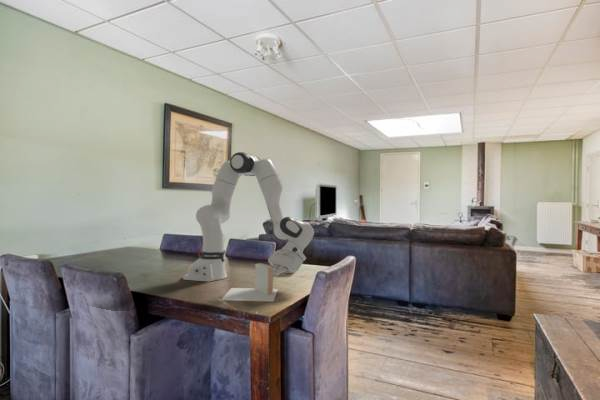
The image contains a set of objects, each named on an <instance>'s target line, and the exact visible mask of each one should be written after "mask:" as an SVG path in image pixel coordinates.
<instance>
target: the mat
mask: <svg viewBox="0 0 600 400" xmlns="http://www.w3.org/2000/svg"><path fill="white" fill-rule="evenodd" d="M278 290H279V288H273V294H270V295H266V294H263V293H261V292H259V291H257V290H255V287H254V288H252V287H251V288H250V287H231V288H230V289H228V291H227V292H226V293H225V295H224V296H222V298H221V299H220V302H226V301H237V302H238V301H241V302H243V301H244V302H245V301H246V302H247V301H248V302H274V301H275V298H276V295H277V293H278Z"/></svg>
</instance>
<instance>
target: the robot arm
mask: <svg viewBox="0 0 600 400" xmlns="http://www.w3.org/2000/svg"><path fill="white" fill-rule="evenodd" d="M241 176H246V177H247V176H248V177H256V180H257V182H258V185H259V188H260V191H261V193H262V195H263V197H264V200H265V203H266V207H267V211H268V214H269V217H270V220H271V222H272V223H271V224H272V231H271V232H272V236H273V238H274V239H275V240H276V241H278V242H281V243H284V242H286V243H285V245H284V246H283V247H282V248H283V249H282V248H280V249H277V250H276V251H274V252H273V253H272V254H271V256H269V258H268V260H267V261H268V263H269V265H270V266H272V267H273V276H276V277H279V275H280V274H281V273H283V272H284V270H289V271H292V272H294V273H296V272H297V271H298V270H299V269H300V268H301V266H302V265H303V263H304V262H305V261H306V259H307V257H306V256H305V254H304V253H303V252H304V250H305V248H306V247H307V246H309V244H310V242H311V241H312V239H313V238H314V235H315V229H314V228H313V226H312V225H311V223H309V222H307V221H300V220H298V219H297V220H296V219H295V218H294V217H291V216H286V217H284V215H283V212H282V210H281V204H280V198H281V196H282V192H283V191H282V190H283V184H282V180H281V177H280V174H279V171H278V170H277V168H276V166H275V164H274V163H273V162H272V160H271V159H269V158H261V159H260V158H259V157H258V156H255V155H253V154H250V153H246V152H241V151H240V152H239V151H238V152H234V154H232V156H231V157H230V160H226V161H224V162H223V163H222V165H221V166H220V168H219V171H218V172H217V174H216V177H215V180H214V183H213V185H212V188H211V196H212V197H211V202H210V204H206V205H203V206H201V207H199V208H198V210H197V211H196V213H195V219H196V221H197V223H199V226H200V228H201V229H200V231H201V233H202V250H201V251H200V252H199V253H198V256H199V257H198V259H196V260H195V261H194V262H192V263H191V264H190V265H189V266H188V269H187V273H186V274H184V275H183V277H182V279H183V281H184V280H186V281H187V280H188V281H196V282H197V281H199V282H212V281H218V280H223V279H226V278H227V277H228V274H227V270H226V262H225V261H226V250H225V235H224V234H223V231H222V226H221V225H222V224H225V223H226V222H227V221H228V220H229V219H230V217H231V210H230V209H231V203H232V198H233V196H234V193H235V189H236V187H237V184H238V180H239V179H240V177H241Z"/></svg>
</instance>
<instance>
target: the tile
mask: <svg viewBox="0 0 600 400" xmlns="http://www.w3.org/2000/svg"><path fill="white" fill-rule="evenodd" d="M254 267H255V269H254V270H255V271H254V272H255V273H254V282H255V283H254V288H255V290H257V291H259V292H261V293H263V294H266V295H270V294H273V289H274V285H273V281H274V277H273V276H274V274H273V271H274V266H272V265H267V264H265V263H263V262H262V263H260V262H259V263H255V266H254Z"/></svg>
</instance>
